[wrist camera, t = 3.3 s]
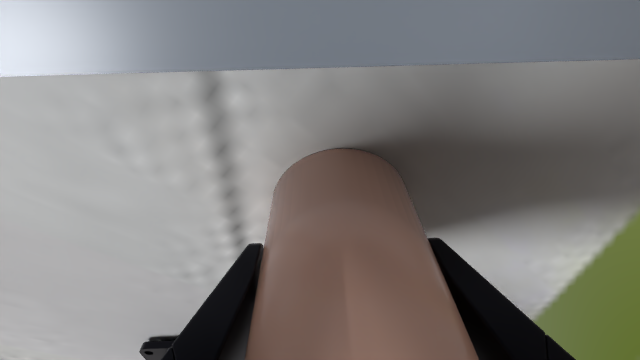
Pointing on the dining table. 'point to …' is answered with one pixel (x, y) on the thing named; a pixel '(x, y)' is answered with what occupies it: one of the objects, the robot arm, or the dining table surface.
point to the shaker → (350, 270)
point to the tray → (306, 34)
